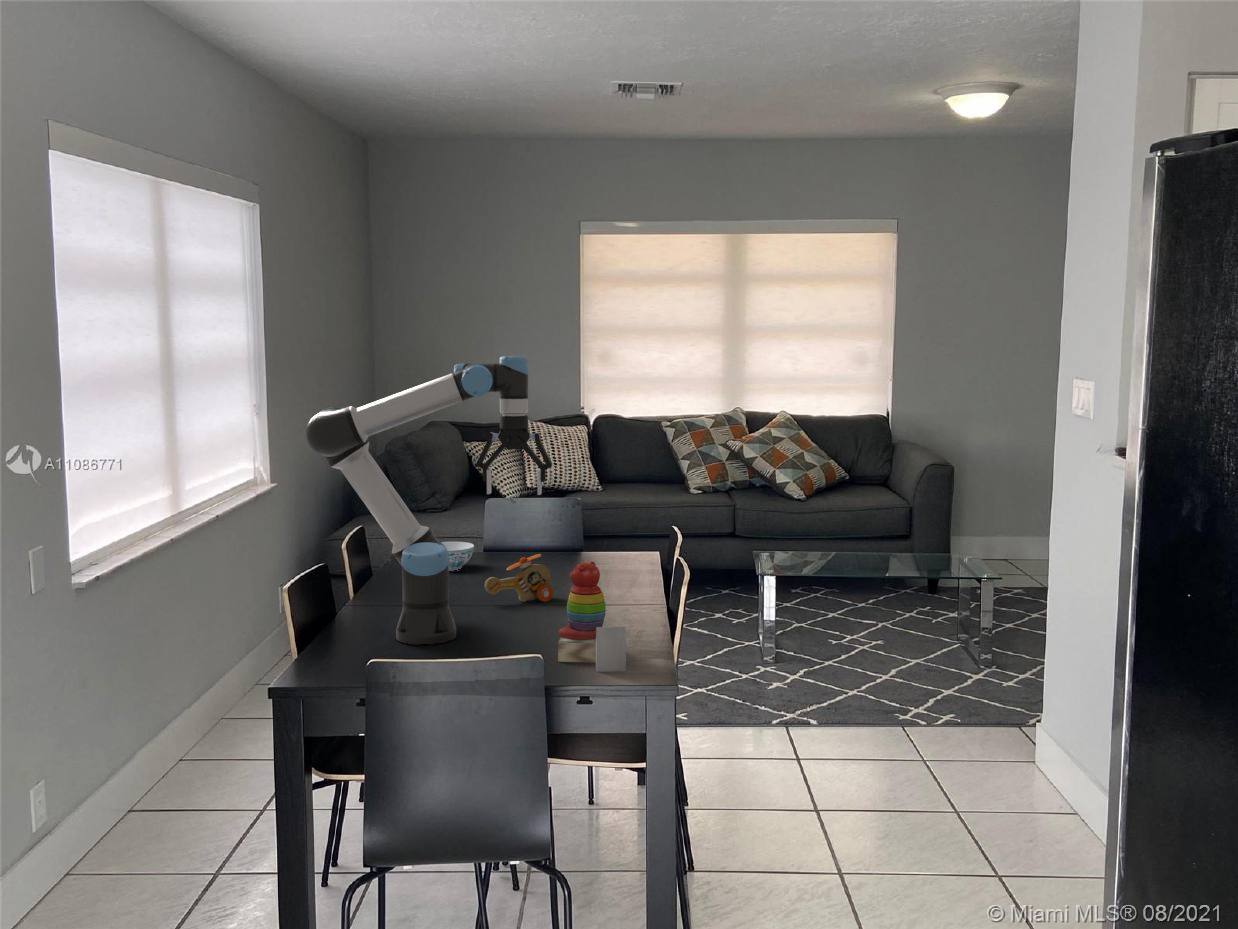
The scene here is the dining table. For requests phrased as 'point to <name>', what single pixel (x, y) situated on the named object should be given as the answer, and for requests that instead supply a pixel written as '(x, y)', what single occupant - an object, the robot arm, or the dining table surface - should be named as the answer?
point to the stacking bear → (584, 604)
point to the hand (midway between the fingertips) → (514, 494)
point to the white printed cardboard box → (610, 649)
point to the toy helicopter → (525, 581)
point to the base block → (576, 650)
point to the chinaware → (458, 553)
